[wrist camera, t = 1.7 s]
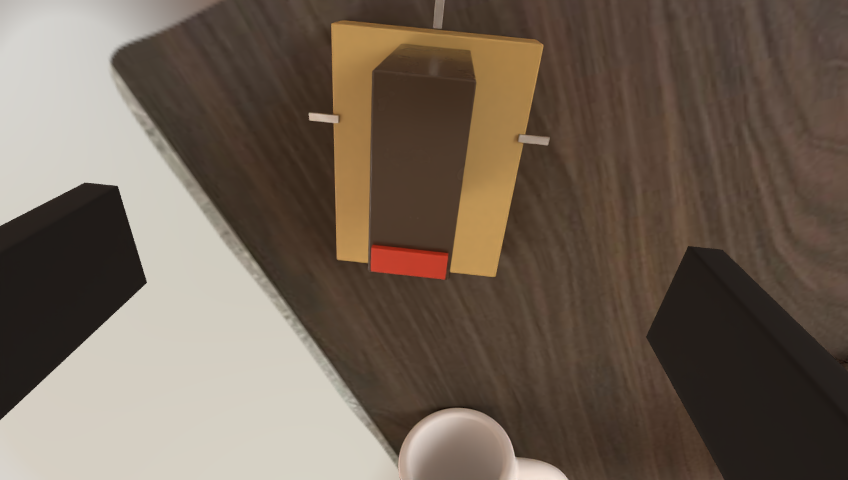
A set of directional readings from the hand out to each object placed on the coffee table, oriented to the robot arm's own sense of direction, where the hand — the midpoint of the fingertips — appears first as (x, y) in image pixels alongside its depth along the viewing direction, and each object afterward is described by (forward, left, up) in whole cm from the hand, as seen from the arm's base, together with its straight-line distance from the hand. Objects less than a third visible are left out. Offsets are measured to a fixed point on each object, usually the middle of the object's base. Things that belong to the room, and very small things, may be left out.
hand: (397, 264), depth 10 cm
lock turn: (0, 0, -11) cm, 11 cm away
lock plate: (+2, 0, -13) cm, 13 cm away
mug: (+26, +7, -14) cm, 30 cm away
